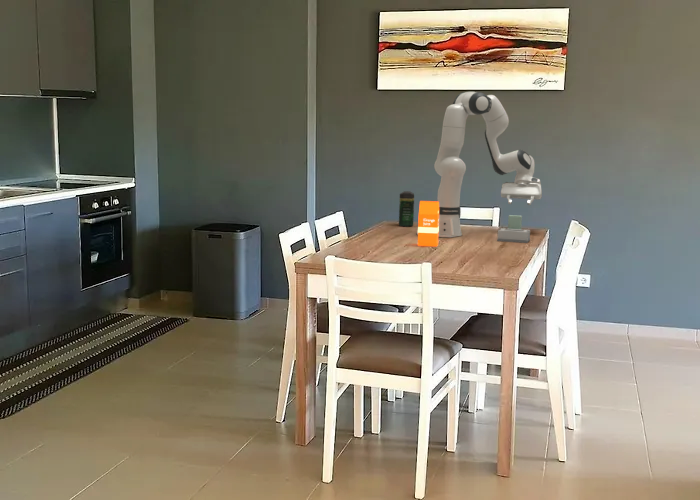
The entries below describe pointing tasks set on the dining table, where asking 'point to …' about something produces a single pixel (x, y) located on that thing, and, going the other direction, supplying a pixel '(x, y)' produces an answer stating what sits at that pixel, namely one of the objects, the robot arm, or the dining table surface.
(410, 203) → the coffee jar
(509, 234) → the gray slotted block
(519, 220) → the green rectangular block
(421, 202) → the orange juice
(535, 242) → the dining table surface
